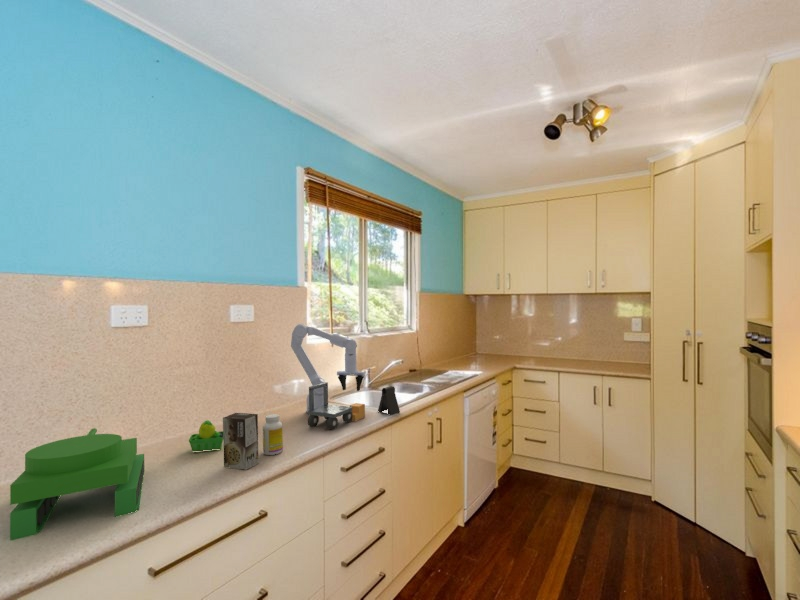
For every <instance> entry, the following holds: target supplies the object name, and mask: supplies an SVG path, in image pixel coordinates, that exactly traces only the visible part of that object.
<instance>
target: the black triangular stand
mask: <svg viewBox="0 0 800 600" xmlns="http://www.w3.org/2000/svg"><path fill="white" fill-rule="evenodd" d="M395 389H396V388H395V386H386V387H383V388H382V389H381V396H380V401H379V406H378V409H377V412H378V411H379V412H382V411H384V410H387V409H388V414H390V415H389V416H393V415H395V414H396V415H397V414H399V412H401V411H400V408H399V402H398V400H397V396H396V390H395ZM379 412H378V413H379ZM388 414H387V415H388Z"/></svg>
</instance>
